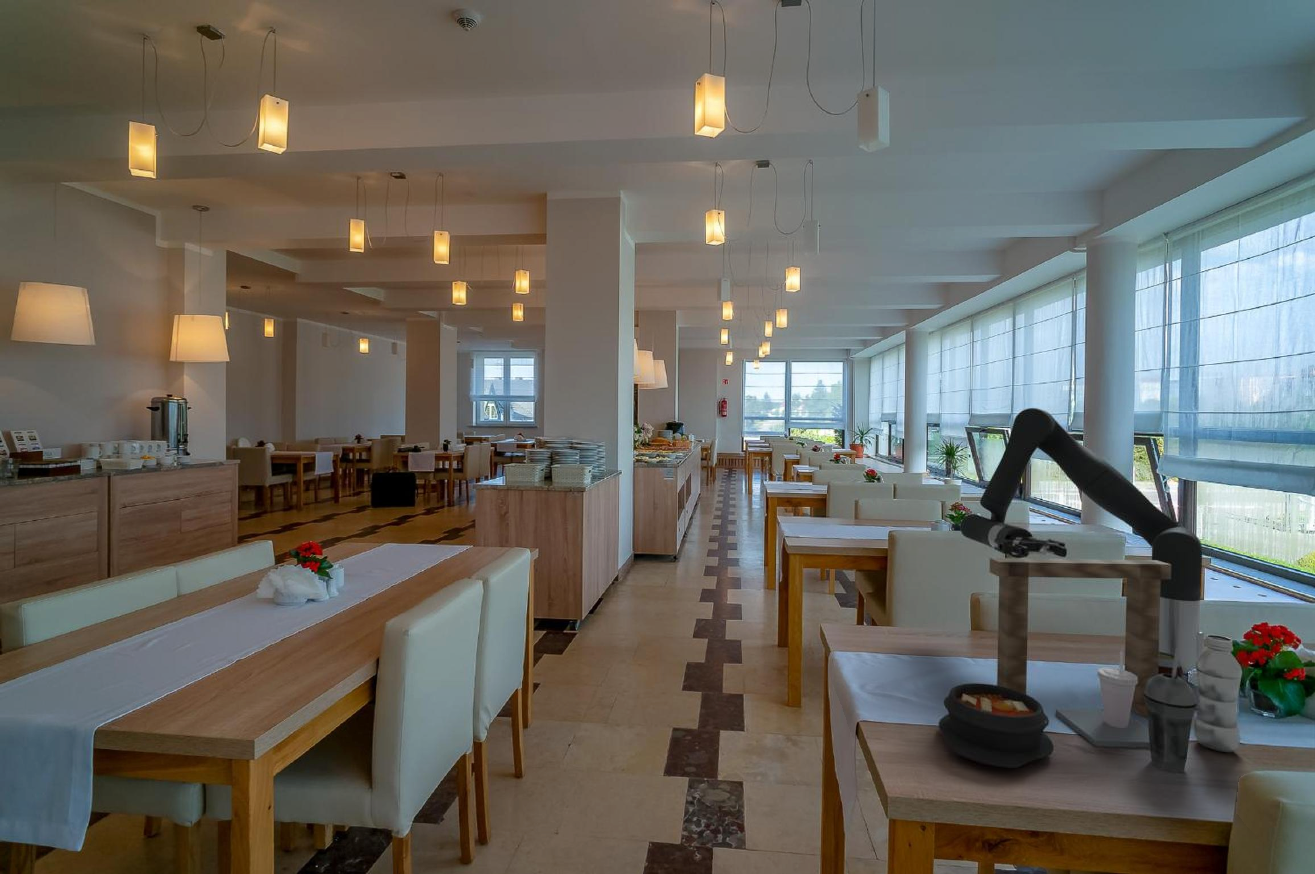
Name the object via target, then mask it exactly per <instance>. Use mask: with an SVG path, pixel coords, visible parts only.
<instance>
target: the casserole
mask: <svg viewBox="0 0 1315 874" xmlns="http://www.w3.org/2000/svg"><path fill="white" fill-rule="evenodd" d="M943 706H944V708H945V709H946V711H947V714H945V715H944V716H943V717H942V718H940V720H939V722H938V728H939V730H940V732H941V734H942V735H943V738H944V739H943V741H944V745H945V747H946V748H947V749H948V750H949V751H951V752H952V753H954V754H957V755H958V756H961V757H963V758H965V759H968V760H970V761H974V762H977V763H980V764H983V765H988V766H994V767H998V768H1005V769H1016V768H1020V767H1021V766H1024V765H1026V764H1028V763H1030V762H1033V761H1036V760H1040V759H1043V758H1046V757H1048V756H1051V754H1052V753H1053V751H1054V746H1055V745H1054V743H1053V741H1052V740H1051V739H1050V738H1049V736H1048V735H1047V734H1046V733H1045V732H1044V731H1045V729H1046V728H1047V727H1048V726H1049V724H1050V723H1049V722H1050V720H1049V717H1048V716H1047V714H1045V712H1044V709H1043V707H1042V704H1041V703H1040V702H1039V701H1038V700H1036V699H1035V698H1034V697H1032V696H1030V695H1028V694H1027V693H1026V694H1024V693H1022V692H1019V691H1016V690H1013V689H1010V688H1006V687H1002V686H997V684H996V685H995V684H991V683H990V684H988V683H980V682H979V683H976V682H975V683H964V684H963V683H962V684H958V685H955V686H954V687H952V688H951V689H950V691H949V694H948V696H946V697H945V698H944V700H943Z"/></svg>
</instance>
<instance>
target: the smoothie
mask: <svg viewBox="0 0 1315 874" xmlns="http://www.w3.org/2000/svg"><path fill="white" fill-rule="evenodd" d="M1096 675H1097V677H1098V678H1099V685H1100V695H1101V703H1102V710H1103V714H1104V722H1105V723H1106V724H1108V725H1110V726H1113V727H1117V728H1127V727H1128V723H1129V717H1130V716H1131V711H1132V709H1131V707H1132V701H1133V696H1134V691H1135V685H1136V684H1137V683H1138V677H1137V676H1136V675H1135V674H1133V673H1131V672H1128V671H1125V669H1124V651H1122V650H1119V664H1118V668H1115V667H1100V668H1098V669H1097V674H1096Z"/></svg>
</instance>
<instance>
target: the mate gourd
mask: <svg viewBox="0 0 1315 874" xmlns="http://www.w3.org/2000/svg"><path fill="white" fill-rule="evenodd" d="M1159 640H1160V637H1159ZM1173 663H1174V655H1171V654H1168V653H1164V652H1159V661H1158V674H1172V670H1173ZM1183 675H1184V674H1183V670H1182V665H1181V663H1180V661H1179V660H1178V663H1177V670H1176V676H1177V677H1180V678H1181V679H1183Z"/></svg>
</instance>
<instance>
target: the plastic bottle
mask: <svg viewBox="0 0 1315 874" xmlns="http://www.w3.org/2000/svg"><path fill="white" fill-rule="evenodd" d="M1205 636H1206V637H1205V647H1206V649H1205V650H1203V653H1202V654H1201V655H1200V656H1199V657H1198V659H1197V661H1196V670H1197V674H1196V676H1197V677H1196V678H1197V684H1198V685H1197V688H1198V702H1197V703H1198V704H1197V709H1196V710H1197V711H1196V716H1195V719H1194V723H1193V728H1192V729H1193V734H1194V738H1195V739H1196V741H1197V742H1198V743H1199V744H1200V745H1201V746H1204V747H1206V748H1208V749H1210V750H1213V751H1218V752H1225V753H1232V752H1235V751H1236V750H1237V749H1238V748H1239V746H1240V743H1241V733H1240V729H1239V726H1238V725H1239V724H1238V722H1239V721H1238V712H1237V706H1238V698H1239V697H1238V696H1239V690H1240V687H1241V686H1240V685H1241V681H1242V677H1243V670H1242V666H1241V665H1240V663H1239V662H1238V660H1237V659H1236V657H1235V656H1234V655H1233V654H1232V652H1233V651H1234V647H1233V639H1232V638H1230V637H1227V636H1223V635H1218V634H1206V635H1205Z"/></svg>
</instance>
